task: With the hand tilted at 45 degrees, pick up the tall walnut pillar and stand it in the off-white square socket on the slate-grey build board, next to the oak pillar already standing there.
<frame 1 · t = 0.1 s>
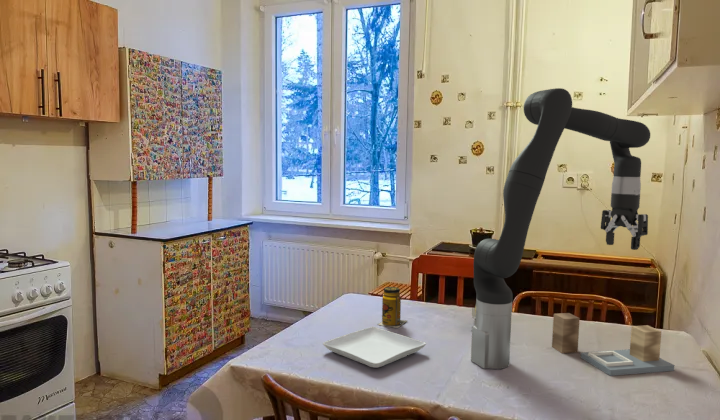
hand: (622, 247, 151), 29 cm above the table, tool pointing down, fingers open, 8 cm apart
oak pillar: (643, 362, 139), resting on build board
salad plate: (374, 354, 143), on the table
build board: (626, 364, 138), on the table
walnut pillar: (564, 349, 148), on the table
platform: (477, 328, 168), on the table
condiment: (392, 323, 170), on the table
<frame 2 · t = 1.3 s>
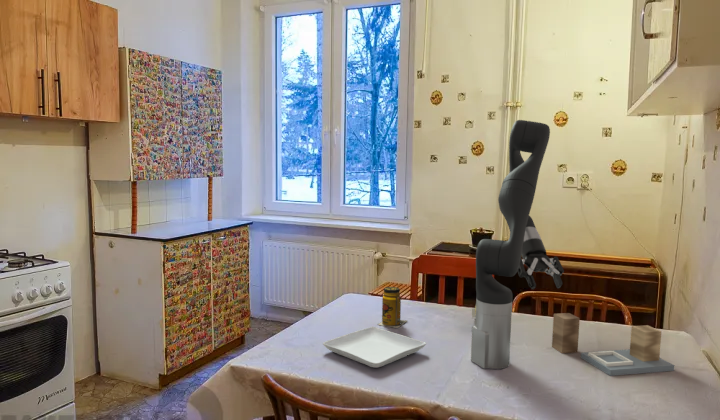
hand: (547, 287, 158), 15 cm above the table, tool tilted 45°, fingers open, 8 cm apart
nothing on the table moved.
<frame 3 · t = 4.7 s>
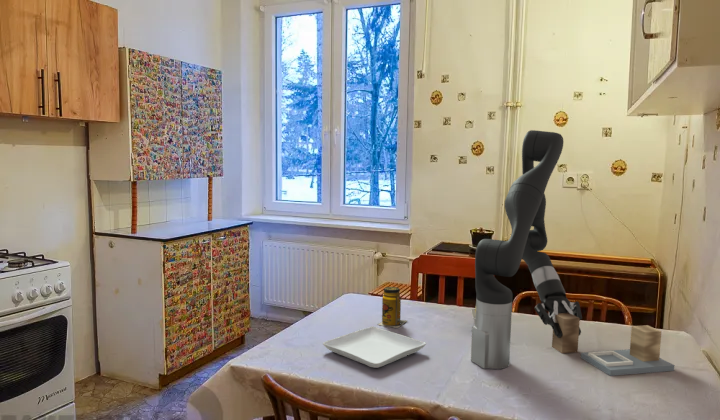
hand: (569, 335, 146), 5 cm above the table, tool tilted 45°, fingers closed on walnut pillar, 5 cm apart
walnut pillar: (564, 349, 148), on the table, touching gripper
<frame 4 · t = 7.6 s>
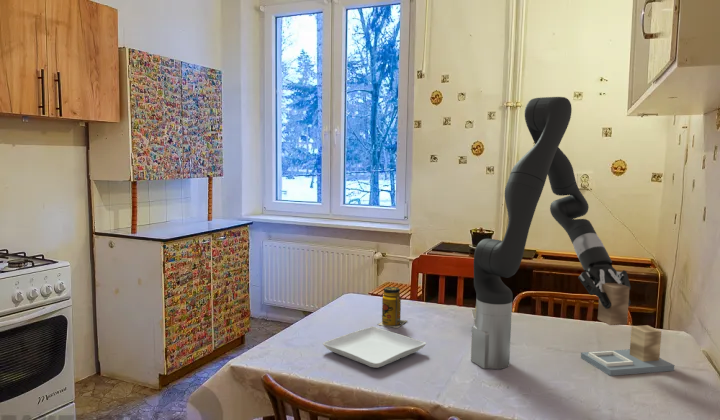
hand: (618, 306, 134), 17 cm above the table, tool tilted 45°, fingers closed on walnut pillar, 5 cm apart
walnut pillar: (612, 321, 136), point 12 cm above the table, touching gripper
when the fingers open (8 cm above the table, at t = 10.5 s): walnut pillar drops 2 cm, resting on build board.
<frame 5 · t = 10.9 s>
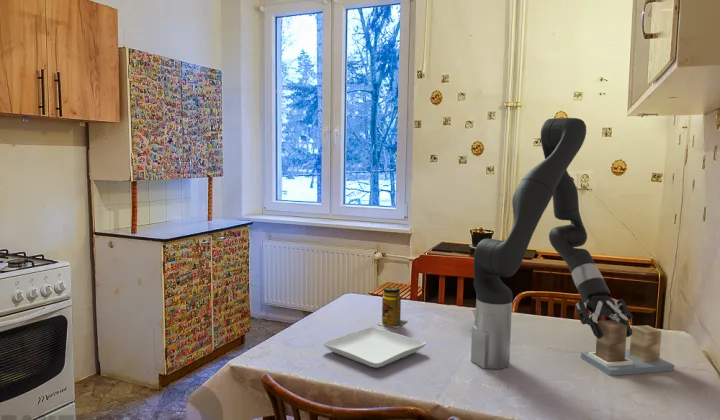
hand: (615, 336, 135), 8 cm above the table, tool tilted 45°, fingers open, 8 cm apart
walnut pillar: (609, 359, 137), point 1 cm above the table, touching build board
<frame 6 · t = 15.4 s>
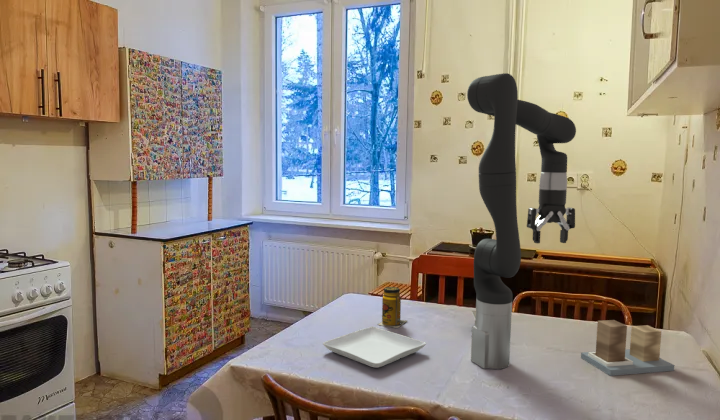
hand: (550, 242, 151), 30 cm above the table, tool pointing down, fingers open, 8 cm apart
at the end: walnut pillar 0.1 cm from the target spot on the build board, point 1.5 cm above the build board's base; walnut pillar tilted 0°; the gripper is holding nothing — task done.
